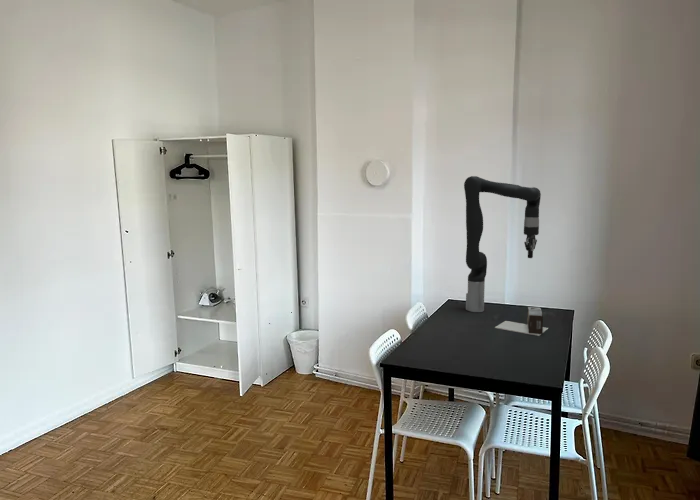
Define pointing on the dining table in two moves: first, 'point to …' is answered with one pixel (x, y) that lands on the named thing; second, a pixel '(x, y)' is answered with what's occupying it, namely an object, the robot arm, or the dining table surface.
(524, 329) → the grey mat
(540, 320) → the coffee box
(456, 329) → the dining table surface
